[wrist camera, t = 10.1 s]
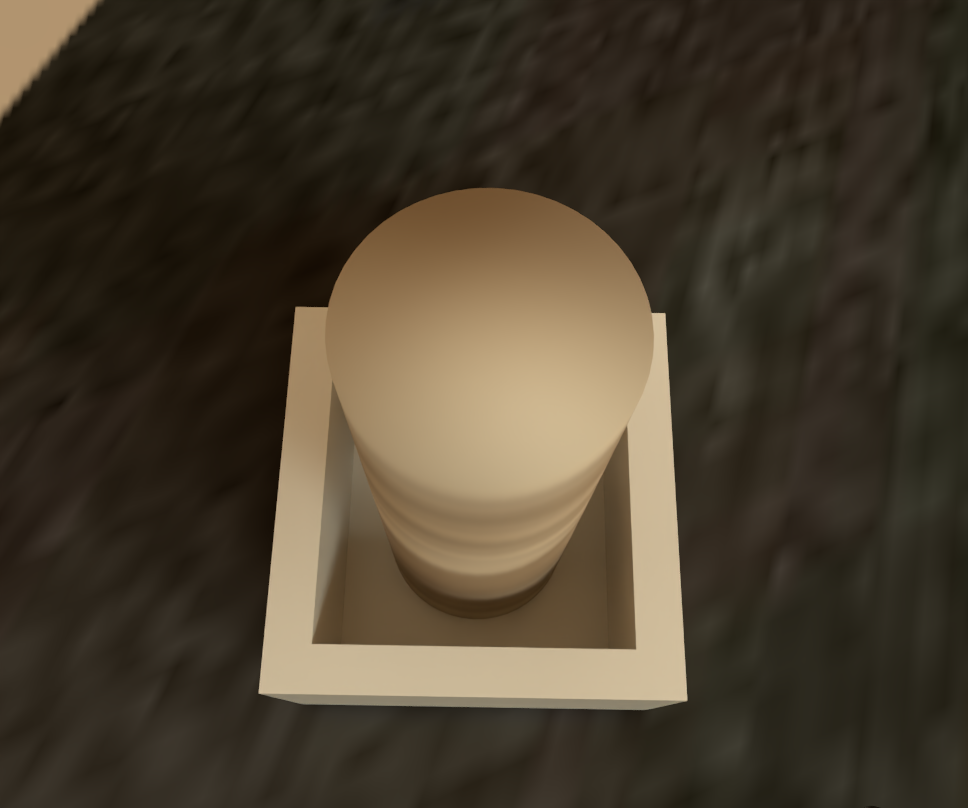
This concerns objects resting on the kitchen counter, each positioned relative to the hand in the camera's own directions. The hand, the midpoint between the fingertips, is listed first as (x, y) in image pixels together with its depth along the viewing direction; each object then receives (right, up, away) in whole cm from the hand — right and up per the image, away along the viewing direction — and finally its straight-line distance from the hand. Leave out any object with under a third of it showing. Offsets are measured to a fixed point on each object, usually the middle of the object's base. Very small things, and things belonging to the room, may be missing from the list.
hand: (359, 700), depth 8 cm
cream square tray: (+1, 0, +12) cm, 12 cm away
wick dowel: (+1, 0, +11) cm, 11 cm away
